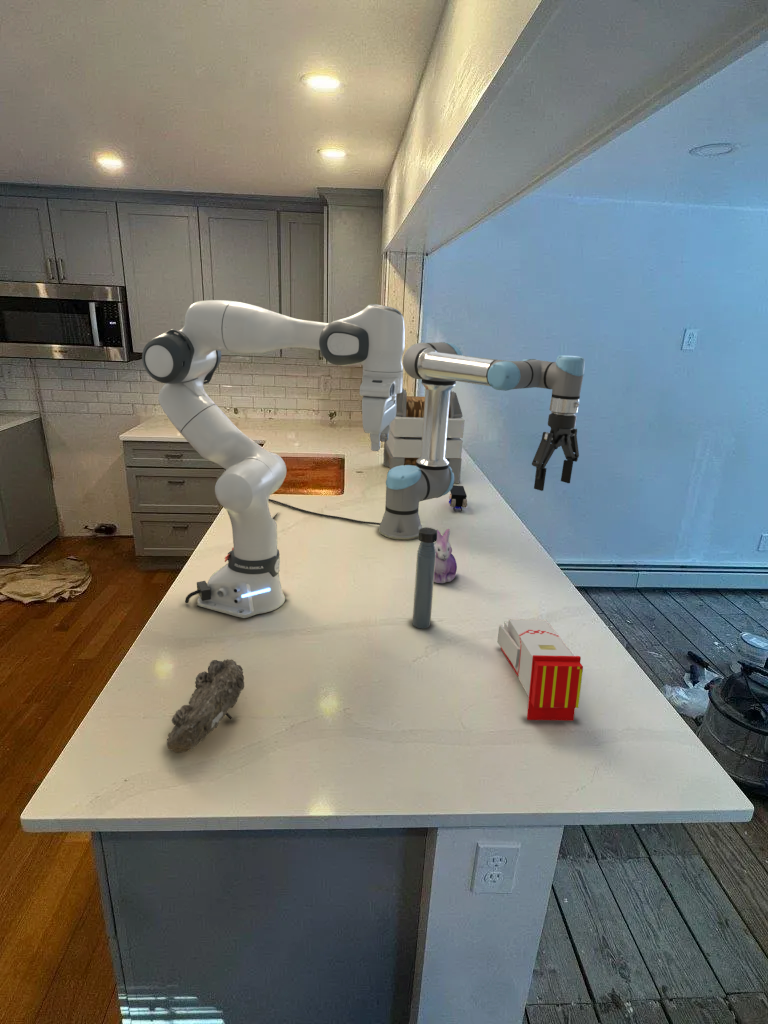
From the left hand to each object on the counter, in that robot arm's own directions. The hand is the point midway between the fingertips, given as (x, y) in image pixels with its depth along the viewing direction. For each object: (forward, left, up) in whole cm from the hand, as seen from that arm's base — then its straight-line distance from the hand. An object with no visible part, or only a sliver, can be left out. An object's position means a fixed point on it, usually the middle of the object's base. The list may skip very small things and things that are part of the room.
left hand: (379, 445), depth 129 cm
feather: (-50, +63, -45) cm, 93 cm away
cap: (+12, +2, -20) cm, 24 cm away
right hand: (+44, +41, -17) cm, 63 cm away
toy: (+39, -15, -45) cm, 61 cm away
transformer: (-7, +140, -45) cm, 148 cm away
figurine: (+15, +29, -45) cm, 56 cm away
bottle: (+12, +2, -45) cm, 47 cm away
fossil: (-22, -43, -45) cm, 66 cm away
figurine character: (+14, +95, -45) cm, 106 cm away
